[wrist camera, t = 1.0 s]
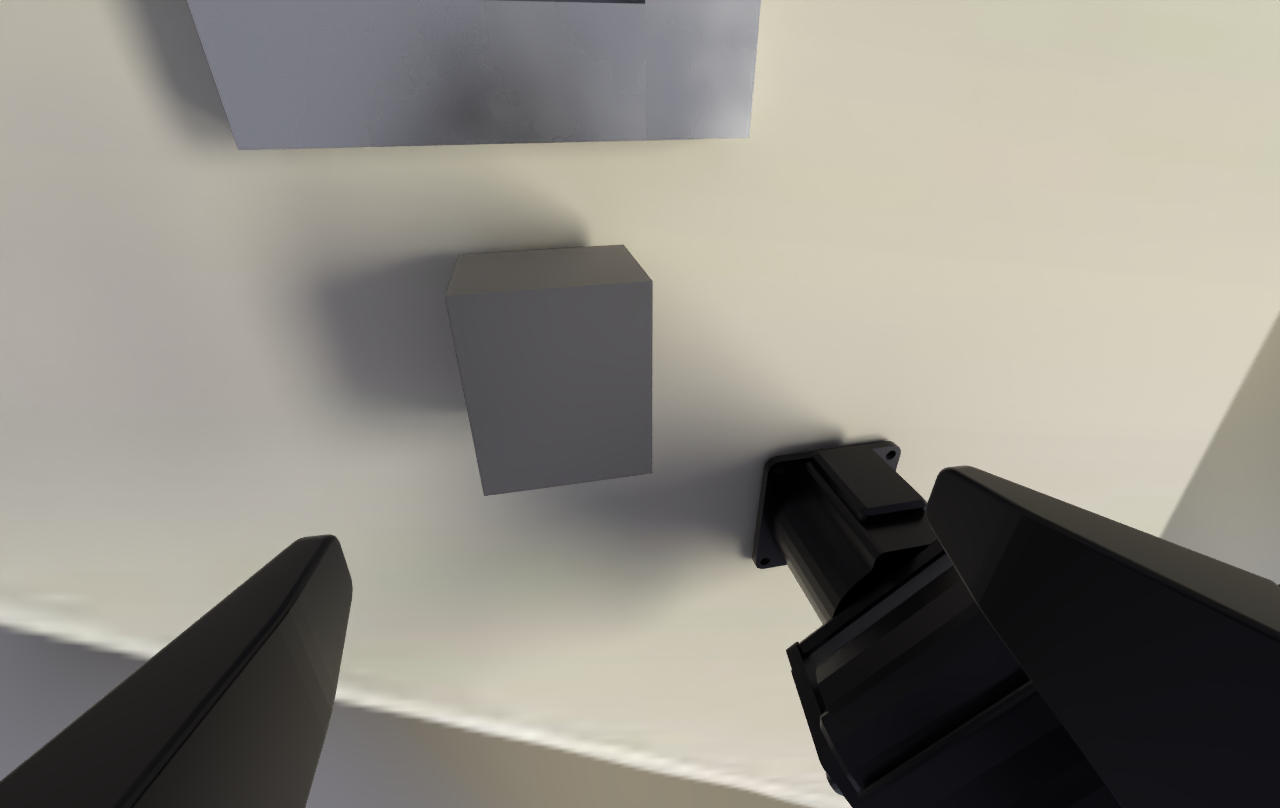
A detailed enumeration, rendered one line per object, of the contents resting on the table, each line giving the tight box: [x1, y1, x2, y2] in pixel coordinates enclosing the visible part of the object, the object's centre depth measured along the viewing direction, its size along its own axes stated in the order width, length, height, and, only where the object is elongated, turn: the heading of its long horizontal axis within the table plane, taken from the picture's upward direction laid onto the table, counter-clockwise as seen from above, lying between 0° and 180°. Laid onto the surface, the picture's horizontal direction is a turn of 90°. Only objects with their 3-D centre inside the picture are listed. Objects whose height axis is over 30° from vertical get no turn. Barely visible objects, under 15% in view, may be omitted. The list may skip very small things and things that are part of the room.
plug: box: [445, 245, 652, 496], centre depth 17 cm, size 6×5×5 cm
